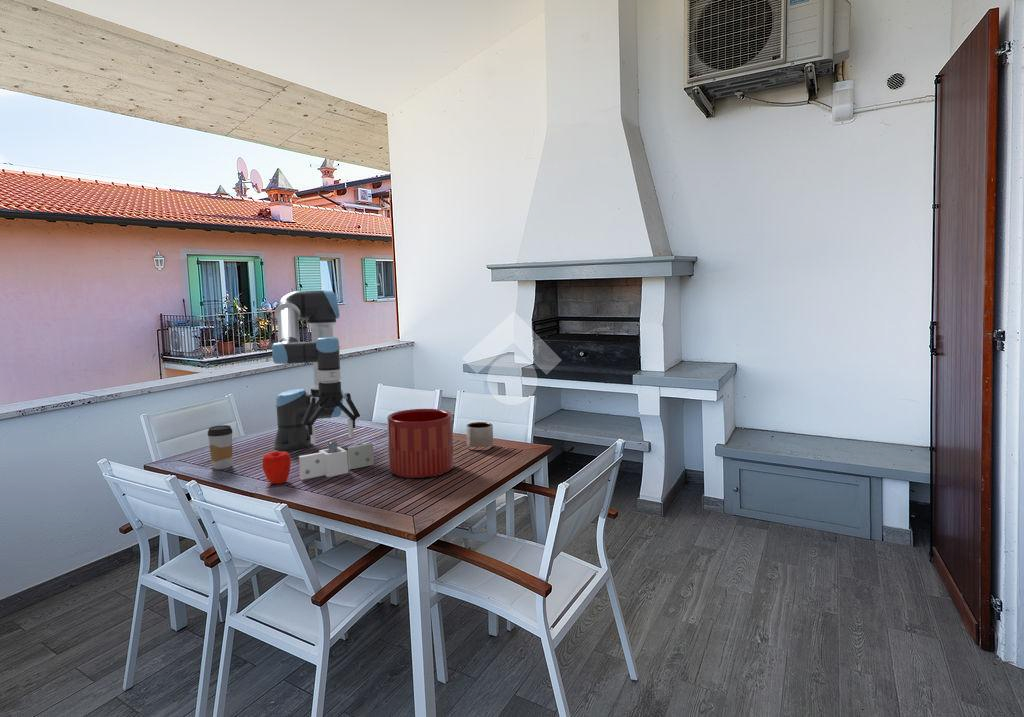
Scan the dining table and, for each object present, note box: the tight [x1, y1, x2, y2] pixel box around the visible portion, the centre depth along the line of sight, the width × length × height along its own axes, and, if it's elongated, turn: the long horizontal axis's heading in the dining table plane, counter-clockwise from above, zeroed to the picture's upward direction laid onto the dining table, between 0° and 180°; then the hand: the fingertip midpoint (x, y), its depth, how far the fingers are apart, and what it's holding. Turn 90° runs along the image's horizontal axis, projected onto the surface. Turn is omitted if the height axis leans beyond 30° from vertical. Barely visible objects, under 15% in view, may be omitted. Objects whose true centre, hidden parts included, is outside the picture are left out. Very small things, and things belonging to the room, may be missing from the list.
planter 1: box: [386, 408, 454, 479], centre depth 207 cm, size 23×23×20 cm
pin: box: [327, 440, 338, 453], centre depth 205 cm, size 3×3×11 cm
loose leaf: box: [347, 442, 375, 470], centre depth 211 cm, size 2×9×8 cm, turn 125°
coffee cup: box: [207, 424, 234, 470], centre depth 213 cm, size 8×8×15 cm
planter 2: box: [466, 421, 494, 448], centre depth 236 cm, size 11×11×10 cm
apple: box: [262, 450, 292, 485], centre depth 194 cm, size 9×9×11 cm
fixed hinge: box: [298, 446, 349, 481], centre depth 203 cm, size 7×15×8 cm, turn 127°
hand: (332, 440), depth 204 cm, fingers open, 13 cm apart
